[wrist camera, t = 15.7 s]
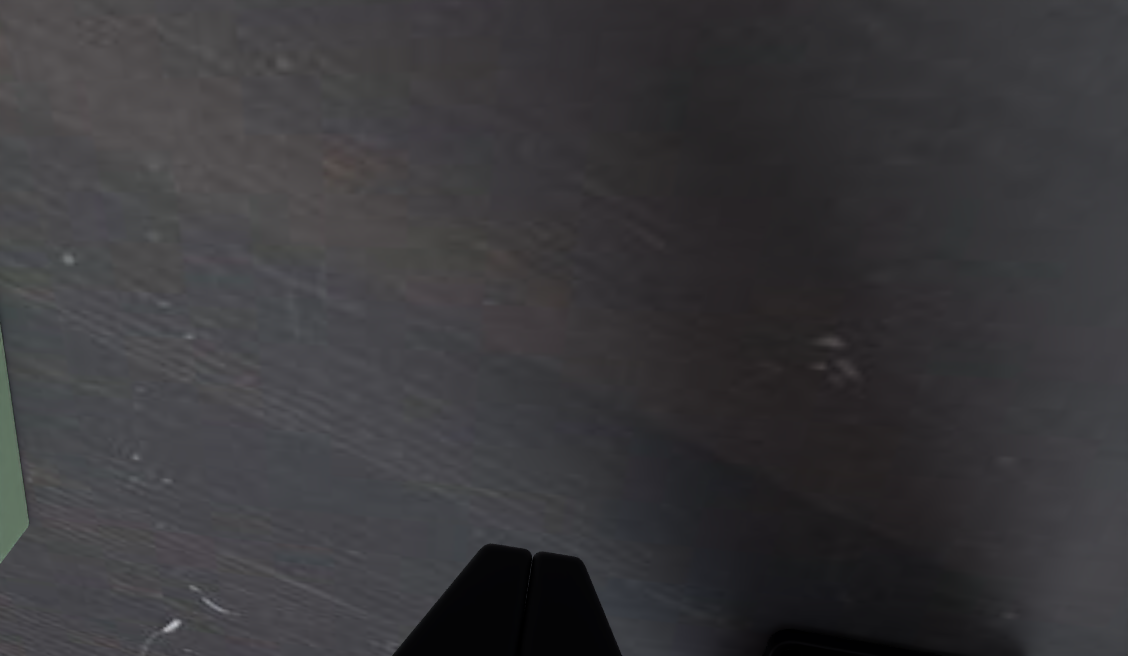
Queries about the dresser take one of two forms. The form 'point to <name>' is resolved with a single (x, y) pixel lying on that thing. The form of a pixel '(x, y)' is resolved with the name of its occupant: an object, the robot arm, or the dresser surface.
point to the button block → (9, 469)
